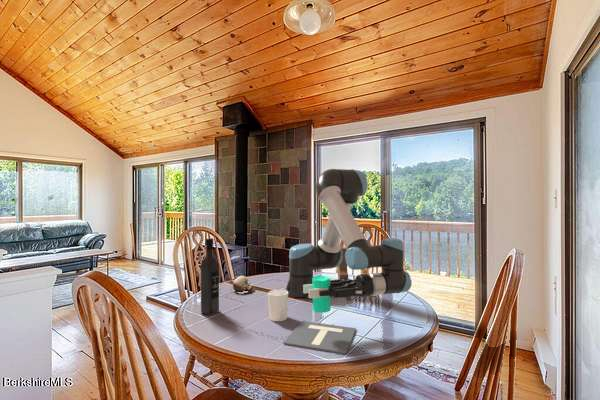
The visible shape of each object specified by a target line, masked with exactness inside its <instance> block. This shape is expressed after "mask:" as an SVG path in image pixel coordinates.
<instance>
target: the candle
mask: <svg viewBox="0 0 600 400" xmlns="http://www.w3.org/2000/svg"><path fill="white" fill-rule="evenodd" d="M330 280H331V277H328V276H325V275H322V273H320V275H315V276H313V278H312V289H316V288H328V290H329V286H330ZM312 311H313V312H315V313H323V314H324V313H328V312H331V297H330V296H327V297H318V298H312Z"/></svg>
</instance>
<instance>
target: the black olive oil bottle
mask: <svg viewBox="0 0 600 400" xmlns="http://www.w3.org/2000/svg"><path fill="white" fill-rule="evenodd" d="M205 249H206V250H205V252H206V253H205V257H204V258H203V259H202V260H201V262H200V263H201V264H200V313H201V312H202V313H201V314H203V313H205V315H207V314H212V315H213V313H214V314H216V313H218V312H219V311H220V280H219V279H220V276H219V275H220V272H219V271H220V270H219V269H220V267H219V266H220V265H219V260H218V258H217V257H216V256H214V238H206V239H205ZM217 311H218V312H217ZM215 312H216V313H215Z"/></svg>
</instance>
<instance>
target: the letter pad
mask: <svg viewBox="0 0 600 400" xmlns="http://www.w3.org/2000/svg"><path fill="white" fill-rule="evenodd" d="M356 331H357V328H356V327H349V326H343V325H334V324H327V323H320V322H313V321H305V320H301V322H300V323H299V324H298V325H297V326H296V327H295V328H294V329H293V331H292V332H291V333H290V334H289V335H288V337H287V338H286V339H285V340H284V341H283V345H284V344H285V345H286V346H290V345H291V347H298V348H304V349H309V350H310V349H311V350H317V351H321V352H329V353H334V354H341V355H347V353H348V350H349V349H350V346H351V343H352V341H353V339H354V335H355V333H356Z"/></svg>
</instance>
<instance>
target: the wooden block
mask: <svg viewBox="0 0 600 400" xmlns="http://www.w3.org/2000/svg"><path fill="white" fill-rule="evenodd" d="M341 249H342V251H343V254H342V256H343V259H342V262H341V264H340V265H339V266H338V268H337V269H338V274H337V275H338V279H343V278H345V279H346V280H349V273H348V266H347V264H346V259H345V253H346V251H347V248H346V246H345V247H341Z"/></svg>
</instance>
